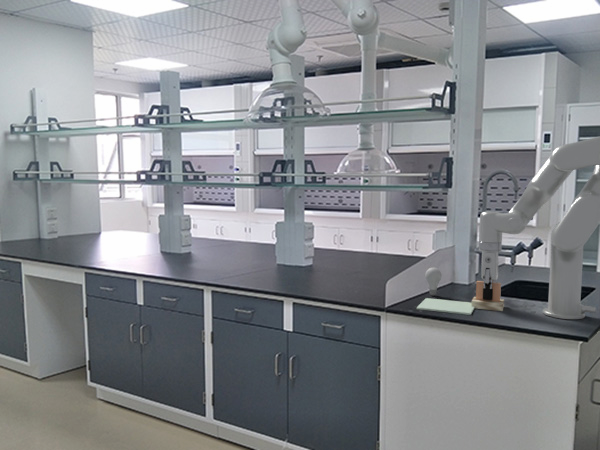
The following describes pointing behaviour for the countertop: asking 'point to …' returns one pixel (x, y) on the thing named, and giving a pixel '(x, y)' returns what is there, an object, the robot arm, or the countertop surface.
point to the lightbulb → (433, 279)
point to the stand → (488, 304)
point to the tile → (495, 287)
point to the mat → (446, 306)
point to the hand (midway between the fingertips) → (488, 298)
